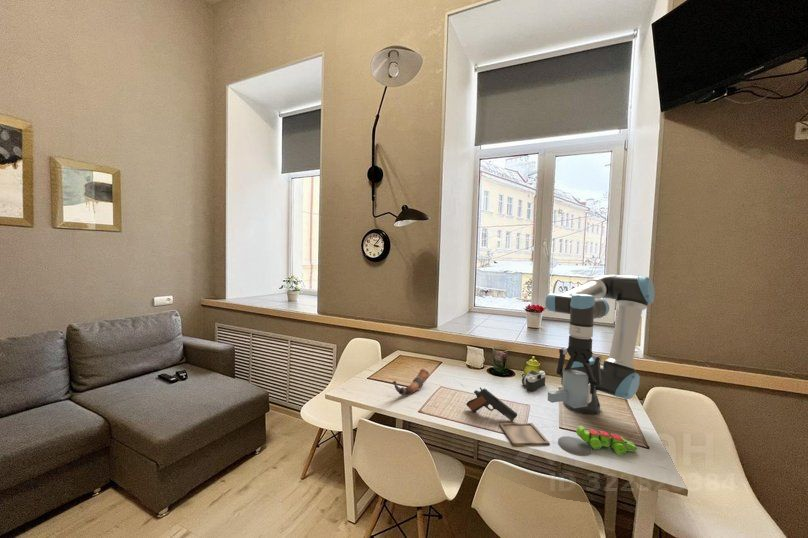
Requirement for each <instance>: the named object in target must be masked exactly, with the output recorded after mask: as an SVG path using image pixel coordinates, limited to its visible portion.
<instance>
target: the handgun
mask: <svg viewBox="0 0 808 538" xmlns="http://www.w3.org/2000/svg"><path fill="white" fill-rule="evenodd" d="M479 390H480V391H479ZM479 390H477V389H476V390H474V391H473V393H474V394H475V396H476V397H474V398H473V399H470V400H469V401H467V403H466V404H465V405H466V406H467V407H468V408H469V410H471V411H472V413H476V412H477V411H479V410H481V409H482V408H486V409H487V410H489V411H490V412H493V411H494V410H496V411H497V412H498V413H500V414H501V415H503V416H504V417H506V418H507V419H508V420H510V421H511V422H513V421H514V420H515V419H516V418H517V416H518V413H517V412H516V411H515V410H513V409H512V408H511V407H509V406H508V405H507V404H506V403H504V402H503V401H502V400H500V399H499V398H498V397H496V396H495V394H492V392H491V391H489V390H488V389H486V388H482V387H479ZM489 405H490V406H491V407H492V409H491V408H490V407H489Z"/></svg>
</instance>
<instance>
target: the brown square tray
mask: <svg viewBox="0 0 808 538" xmlns="http://www.w3.org/2000/svg"><path fill="white" fill-rule="evenodd" d="M498 426H499V427H500V429H501V431H503V433H504V435H505V436H506V438H507V439H508V441H509V442H510V444H511V446H513V447H514V446H515V447H517V446H519V447H520V446H522V447H523V446H549V445H550V441H549V440H548V439H547V438H546V437H545V436H544V434H543V433H542V432H540V430H539V429H538V427H536V426H535V424H534V423H533V422H499V424H498Z"/></svg>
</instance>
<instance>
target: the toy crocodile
mask: <svg viewBox="0 0 808 538" xmlns="http://www.w3.org/2000/svg"><path fill="white" fill-rule="evenodd" d="M576 435H577V436H578V438H579V439H580V440H583V441H584V442H586V443H588V444H589V445H590V447H591V448H593V449H594V450H600V449H601V448H602V446H603V447H607V448H609V447H611V448H612V449H613V451H614V452H615V454H617V455H626V453H627V451H628V452H631V453H632V452H634V453H635V452H636V451H638V447H637V445H635V444H634V443H633V442H632V441H629V440H627V439H625V438H624V437H623V436H622V435H620V434H615V433H612V432H611V433H608V432H607V431H603V430H599V431H597V430H596V429H589V430H588V429H587V430H585V427H584V426H583V425H579V426H577V428H576Z"/></svg>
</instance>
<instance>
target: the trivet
mask: <svg viewBox="0 0 808 538" xmlns="http://www.w3.org/2000/svg"><path fill="white" fill-rule="evenodd" d="M557 442H558V443H557V444H558V446H559V447H560V448H561V449H562V450H564V451H566V452H568V453H570V454H573V455H576V456H589V455H591V454H592V451H593V449H592V447H591V445H590V443H588V442H585V441H583V440H582V439H581V438H579V437H574V436H567V435H565V436H561V437H559V438H558V440H557Z"/></svg>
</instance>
